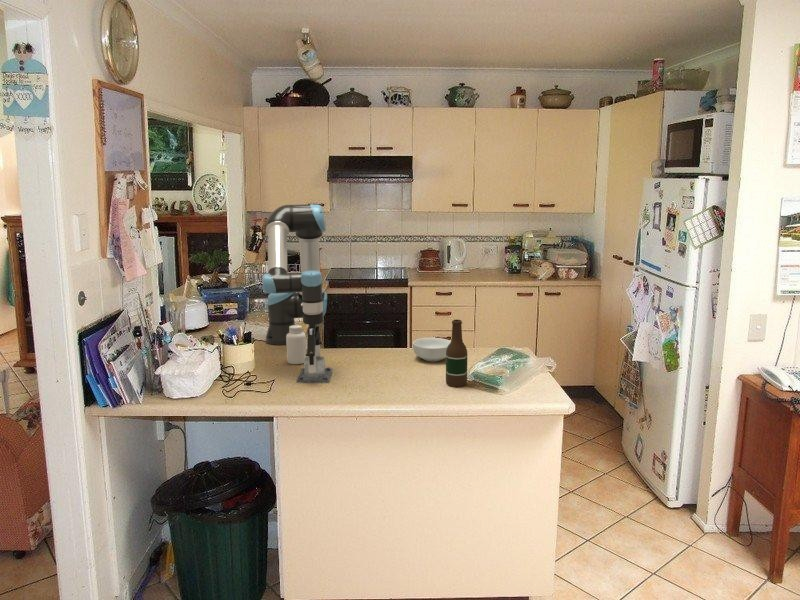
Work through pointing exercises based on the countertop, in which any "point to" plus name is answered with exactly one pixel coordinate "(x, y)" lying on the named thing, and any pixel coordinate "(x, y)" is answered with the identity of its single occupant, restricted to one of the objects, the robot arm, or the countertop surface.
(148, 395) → the countertop surface
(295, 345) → the pill bottle
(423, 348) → the cereal bowl
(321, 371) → the hub
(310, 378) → the shaft stand
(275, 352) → the countertop surface
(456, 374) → the beer bottle
